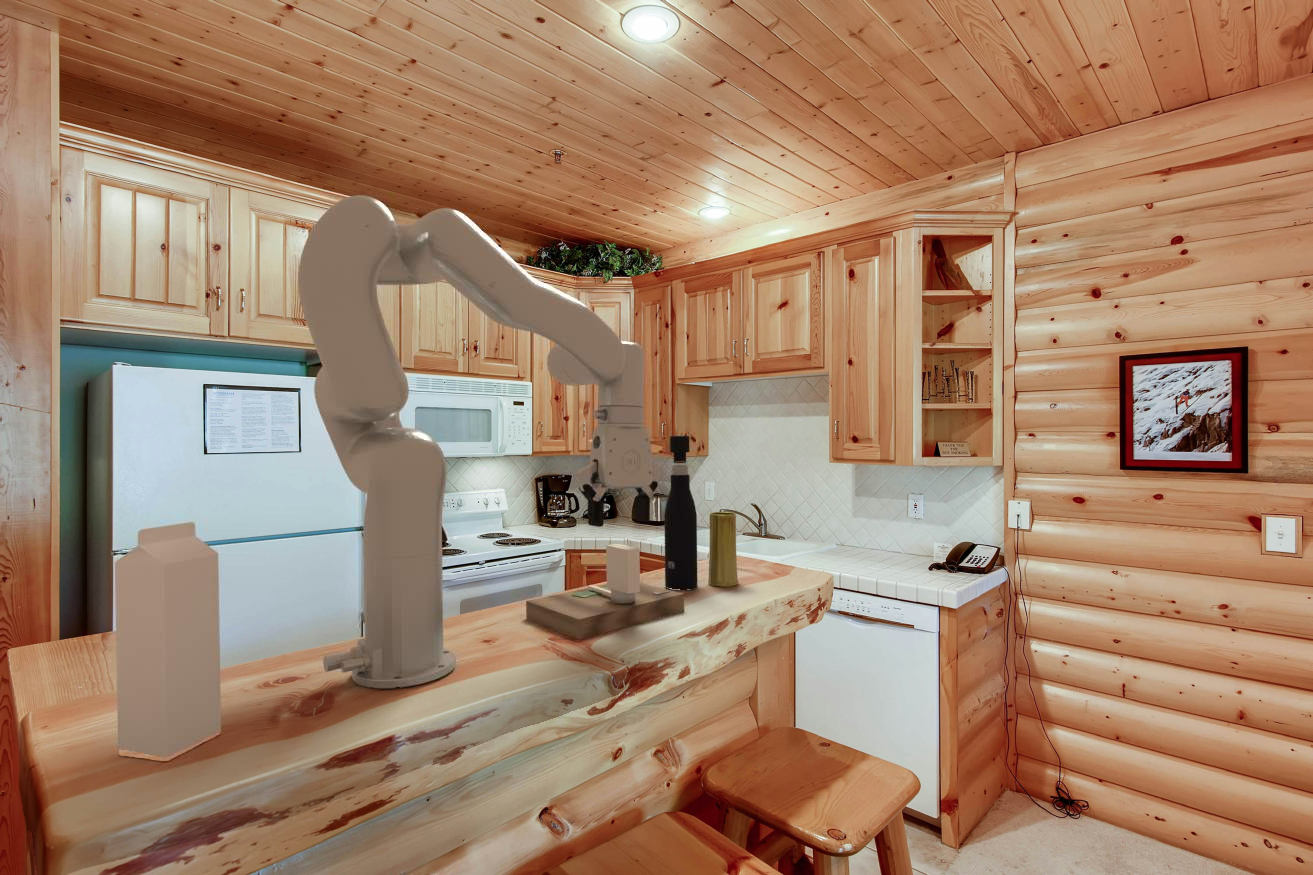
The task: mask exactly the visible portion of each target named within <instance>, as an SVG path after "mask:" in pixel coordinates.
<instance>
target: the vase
mask: <svg viewBox="0 0 1313 875" xmlns="http://www.w3.org/2000/svg"><path fill="white" fill-rule="evenodd" d="M736 515H737V514H736V513H735V512H732V511H713V512H710V513H709V560H708V561H709V562H708V563H709V564H708V581H707V582H708V584H709V586H712V585H713V586H712V587H717V586H720V587H719V588H730V587H735V586H737V585H739V579H738V564H737V563H738V562H737V560H738V559H737V558H738V557H737V532H736V531H737V528H736V527H737V524H736V522H737V520H736V519H737V518H736V517H737V516H736Z"/></svg>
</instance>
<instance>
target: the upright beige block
mask: <svg viewBox="0 0 1313 875" xmlns="http://www.w3.org/2000/svg"><path fill="white" fill-rule="evenodd" d="M605 546H606V547H605V548H606V549H605V553H606V556H605V557H606V564H605V565H606V584H607V588H611V591H609V590H606V589H603V588H600V587H597V586H598V585H597V586H596V585H593V584H590V585H588V587H587V588H588V589H591V590H594V591H597V592H600V593H603V594H606V595H609V596H611V602H613V603H619V604H625V603H632V602H634V601H635V593H636V592H640V583H641V574H640V573H641V567H640V562H641V560H640V559H641V558H640V557H641V556H640V553H641V552H640V551H641V550H640V548H639V547H636V546H632V545H631V546H630V545H627V544H622V543H612V544H606V545H605Z"/></svg>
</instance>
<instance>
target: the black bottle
mask: <svg viewBox="0 0 1313 875" xmlns="http://www.w3.org/2000/svg"><path fill="white" fill-rule="evenodd" d="M669 452H670V453H673V461H672V463H673V465H672V467H671V473H672V474H671V475H670V490H669V493H668V496H667V500H666V503H665V508H664V518H663V519H664V581H665V582H664V586H666V587H668V588H672V589H680V590H686V591H688V590H687V589H693V590H695V589H694V588H696V587H697V588H698V522H697V521H698V515H697V509H696V505H695V501H694V497H693V494H692V492H691V488H690V487H691V486H690V484H691V483H690V482H691V481H690V480H691V479H690V478H691V477H690V474H688V473H689V471H688V469H689V466H688V465H687V462H688V461H687V453H690V435H670V436H669ZM676 464H677V465H676ZM685 464H686V465H685ZM666 587H665V588H666ZM697 588H696V589H697Z"/></svg>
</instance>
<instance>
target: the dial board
mask: <svg viewBox="0 0 1313 875" xmlns="http://www.w3.org/2000/svg"><path fill="white" fill-rule="evenodd" d="M597 587H600V588H603V589H606V590H609V591H611V588H607V583H606V584H601V585H597ZM525 608H526V609H525V610H526V612H525V613H526V620H528V621H531V622H533V623H534V624H535V623H536V624H538V625H540V626H541V625H542V626H543V627H546V628H549V629H551V630H554V631H556V632H559V633H562V634H564V635H567V636H569V637H572V638H575V639H576V640H582V639H586V638H589V637H590V638H591V637H593V636H598V635H601V634H604V633H605V634H606V633H608V632H612V631H616V630H620V629H624V628H627V627H630V625H631V626H635V625H638V624H641V622H642V623H644V622H645V621H646V622H649V620H650V621H653V620H657V619H660V618H659V617H661V618H664V617H663V616H665V617H668V616H670V614H672V615H675V614H674V613H676V614H678V613H677V612H679V613H683V612H685V593H682V592H679V591H676V590H670V589H667V588H666V589H665V588H663V587H657V586H654V585H652V584H651V585H650V584H646V583H642V582H640V592H636V593H635V601H634V602H632V603H625V604H619V603H613V602H611V596H609V595H606V594H603V593H600V592H597V591H594V590H591V589H588V587H587V588H586V587H585V588H582V589H576V590H572V591H568V592H563V593H559V594H553V595H549V596H548V595H547V596H543V597H539V598H538V597H537V598H534V599H529V600H528V599H527V600H526V601H525ZM682 611H683V612H682ZM667 615H668V616H667ZM656 618H657V619H656ZM652 619H653V620H652ZM646 622H645V623H646ZM637 623H638V624H637ZM634 624H635V625H634ZM626 626H627V627H626ZM623 627H624V628H623ZM619 628H620V629H619Z"/></svg>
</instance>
